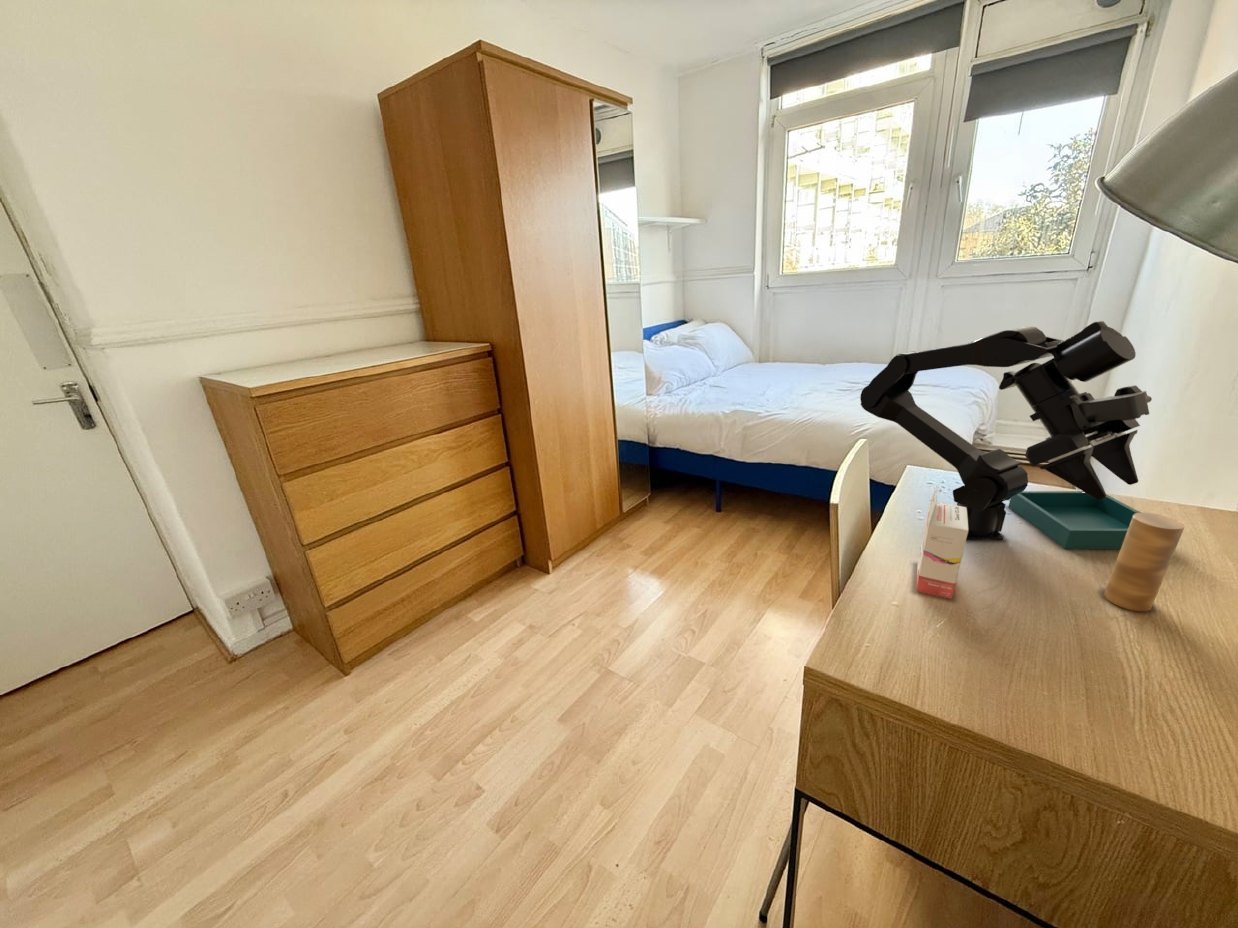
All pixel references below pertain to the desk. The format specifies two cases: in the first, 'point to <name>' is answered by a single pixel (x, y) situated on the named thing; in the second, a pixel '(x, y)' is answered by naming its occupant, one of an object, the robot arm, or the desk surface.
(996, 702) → the desk surface
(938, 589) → the ink cartridge box
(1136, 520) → the wood cylinder
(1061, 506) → the teal serving tray
